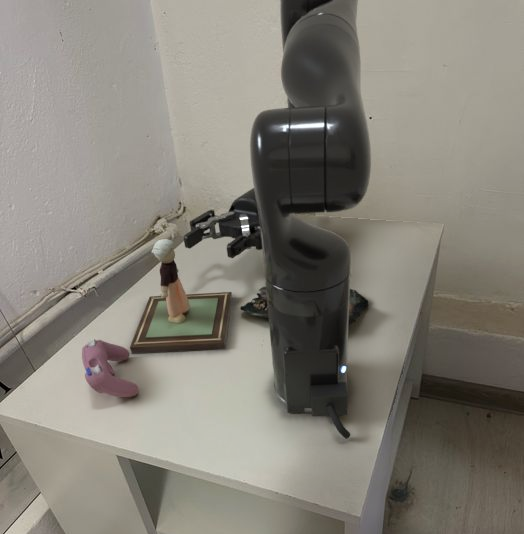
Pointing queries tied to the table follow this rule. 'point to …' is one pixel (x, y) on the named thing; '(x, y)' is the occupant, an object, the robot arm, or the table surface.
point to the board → (184, 325)
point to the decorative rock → (261, 309)
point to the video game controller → (106, 369)
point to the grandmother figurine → (171, 281)
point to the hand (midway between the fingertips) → (207, 247)
